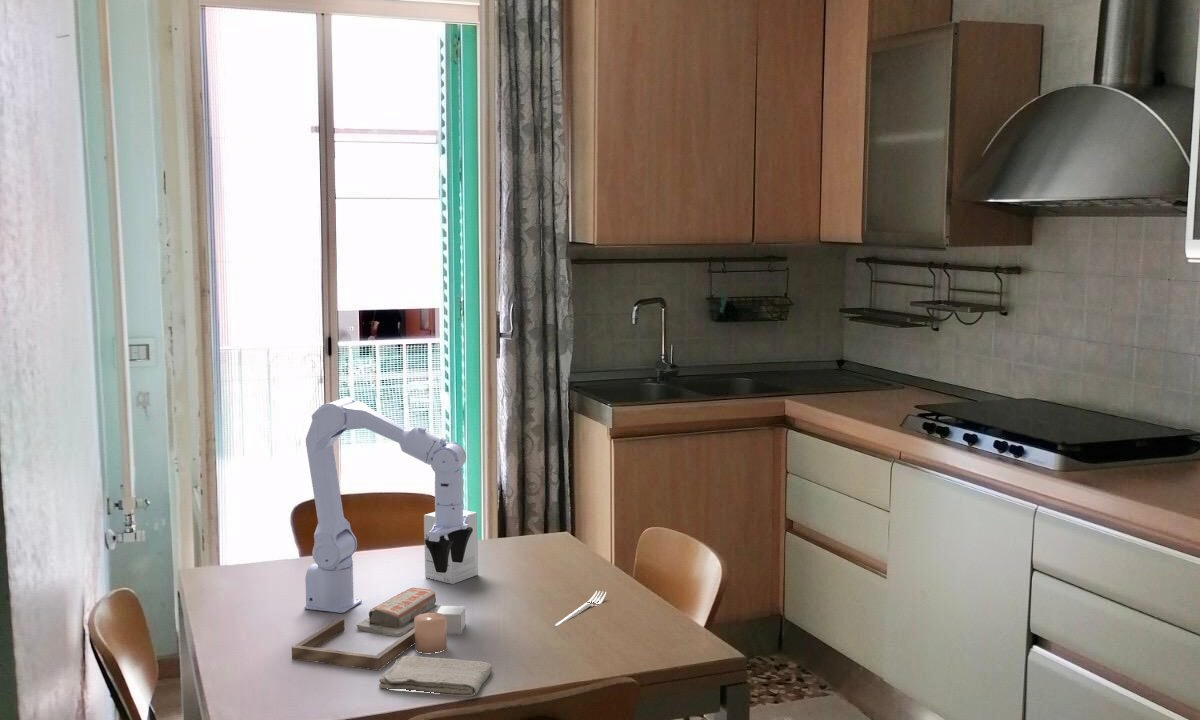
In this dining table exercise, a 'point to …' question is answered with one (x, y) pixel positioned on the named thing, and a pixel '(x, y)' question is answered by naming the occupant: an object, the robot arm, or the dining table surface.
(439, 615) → the peach pillar candle
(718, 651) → the dining table surface
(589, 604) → the fork
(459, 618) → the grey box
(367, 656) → the open wooden frame
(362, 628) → the packaged product
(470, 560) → the supplement box
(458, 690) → the washcloth
